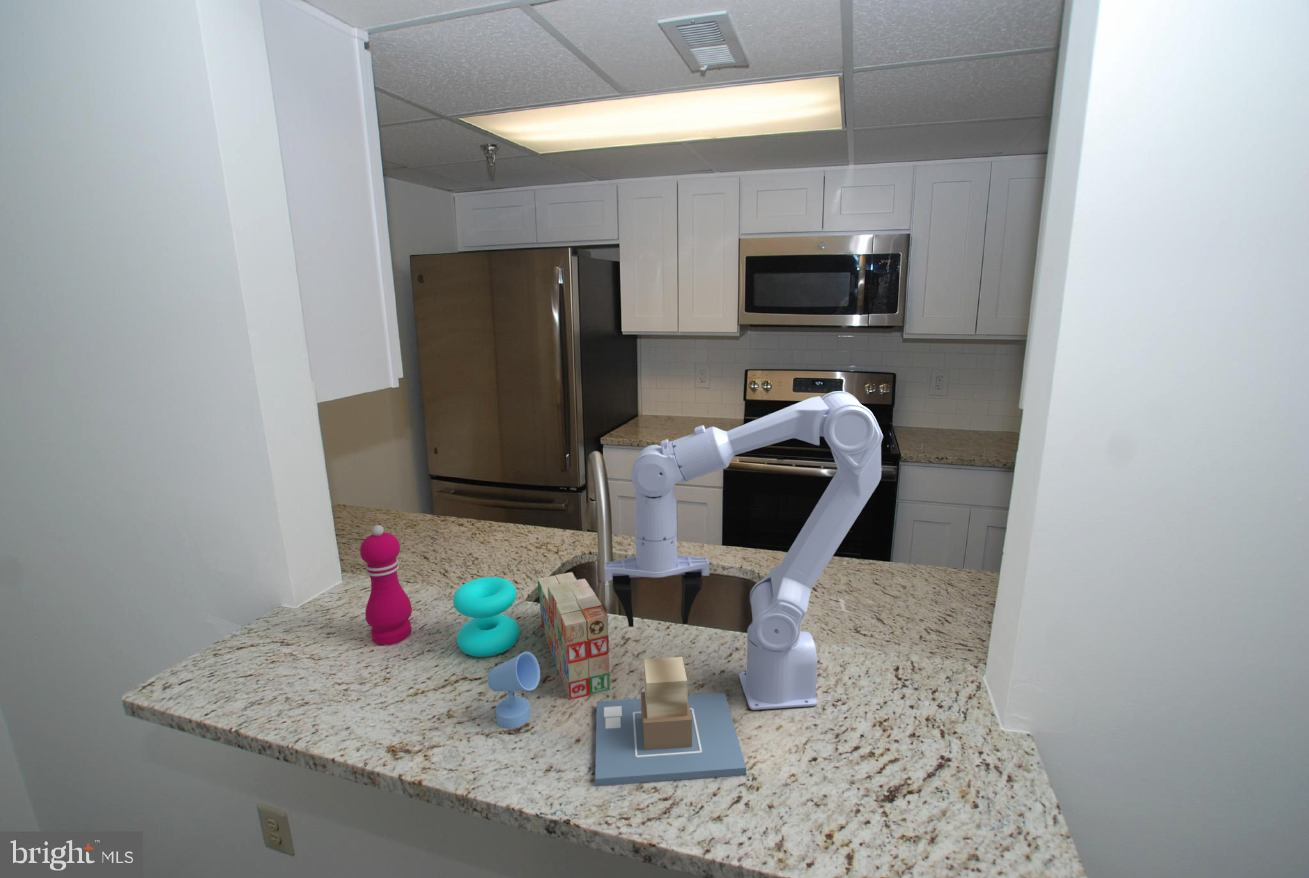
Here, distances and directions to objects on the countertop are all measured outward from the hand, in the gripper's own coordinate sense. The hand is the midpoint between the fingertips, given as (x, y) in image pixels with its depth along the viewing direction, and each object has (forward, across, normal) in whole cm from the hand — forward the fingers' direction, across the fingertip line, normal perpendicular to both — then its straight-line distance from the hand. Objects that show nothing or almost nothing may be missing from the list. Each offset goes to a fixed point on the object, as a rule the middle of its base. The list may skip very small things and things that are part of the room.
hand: (657, 621), depth 89 cm
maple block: (+5, 0, +11) cm, 12 cm away
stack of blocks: (+11, +13, -9) cm, 19 cm away
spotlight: (+11, +20, +5) cm, 23 cm away
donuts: (+11, +27, -14) cm, 32 cm away
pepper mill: (+11, +44, -18) cm, 49 cm away
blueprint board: (+10, 0, +11) cm, 15 cm away
